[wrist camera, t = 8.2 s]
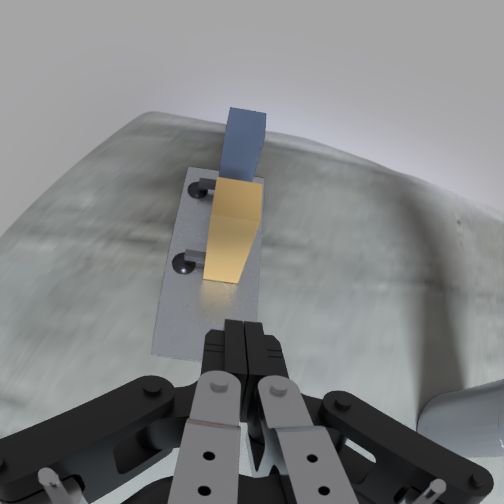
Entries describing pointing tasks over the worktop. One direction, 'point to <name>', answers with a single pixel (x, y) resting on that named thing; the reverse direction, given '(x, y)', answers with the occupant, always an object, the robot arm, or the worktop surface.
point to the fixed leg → (240, 146)
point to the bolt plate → (201, 279)
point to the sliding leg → (230, 229)
